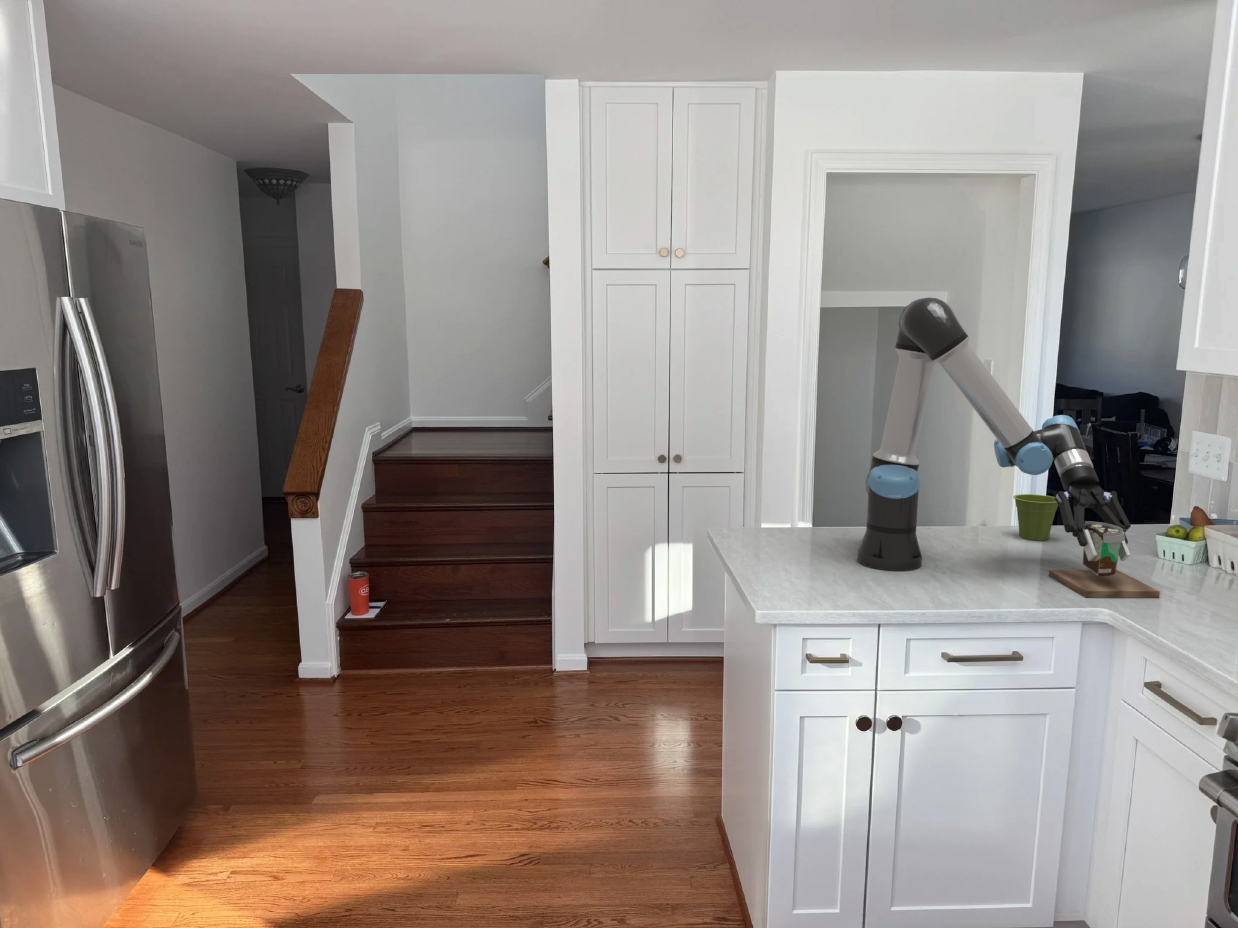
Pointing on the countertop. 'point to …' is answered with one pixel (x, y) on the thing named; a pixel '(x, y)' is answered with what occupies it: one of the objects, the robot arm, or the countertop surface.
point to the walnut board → (1103, 584)
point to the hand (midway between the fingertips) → (1109, 557)
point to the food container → (1104, 547)
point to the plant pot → (1035, 515)
